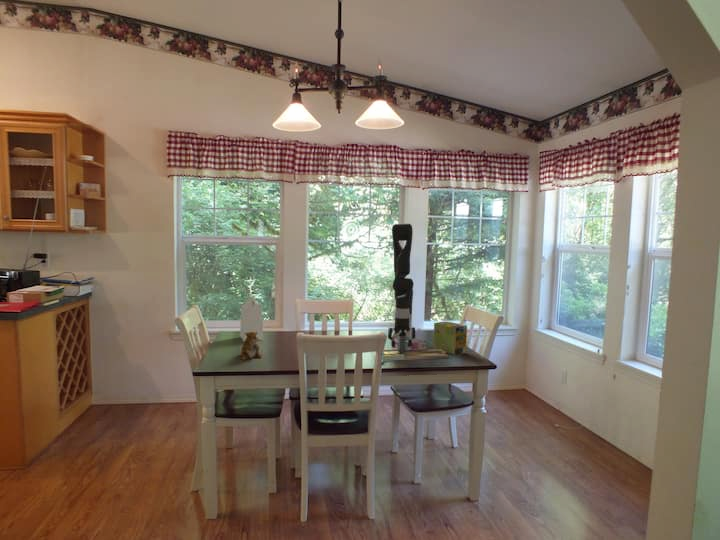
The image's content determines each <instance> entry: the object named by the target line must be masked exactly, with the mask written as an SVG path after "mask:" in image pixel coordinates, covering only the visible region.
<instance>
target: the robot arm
mask: <svg viewBox="0 0 720 540" xmlns="http://www.w3.org/2000/svg"><path fill="white" fill-rule="evenodd" d="M391 235H392V236H391V237H392V246H393V270H394V271H393V272H394V273H393V274H394V279H393V282H392V288H393V290H394V300H395V310H394V327H388V333H387V339H388V340H389V341H390V340H391V343H390V346H391V348H392V347H393V348H395V341H398V336H406V341H408V347H410V346H411V345H412V340H415V339H416V327H414V326H413V325H412V324H413V322H412V321H413V299H414V289H413V288H414V281H413V279H412V278H409V277H408V278H407V276H409V275H410V272H411V253H412V244H413V235H414V234H413V226H412V224H411V223H395V224H393V225H392V226H391ZM400 241H401V242H402V241H403V242H404V241H405V244H404V247H402V246H401V244H400ZM393 332H394V333H393Z"/></svg>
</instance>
